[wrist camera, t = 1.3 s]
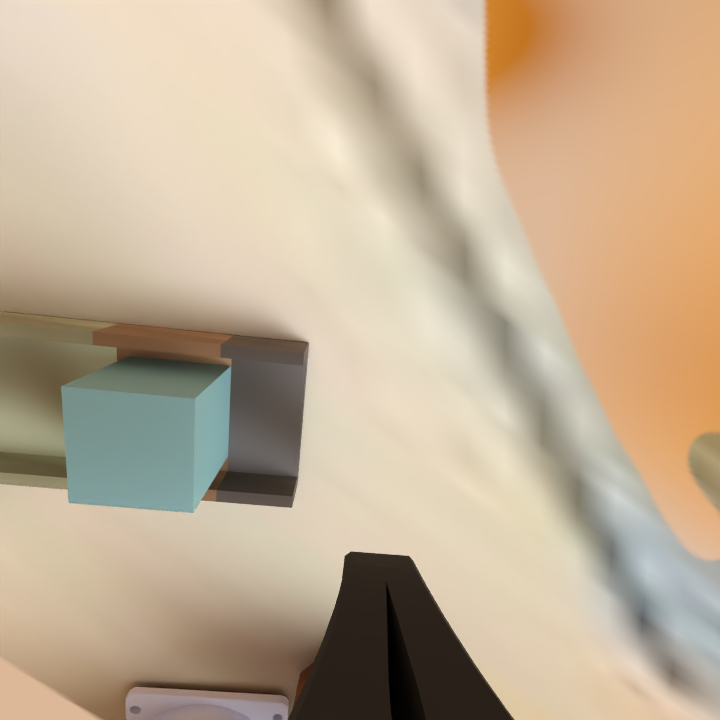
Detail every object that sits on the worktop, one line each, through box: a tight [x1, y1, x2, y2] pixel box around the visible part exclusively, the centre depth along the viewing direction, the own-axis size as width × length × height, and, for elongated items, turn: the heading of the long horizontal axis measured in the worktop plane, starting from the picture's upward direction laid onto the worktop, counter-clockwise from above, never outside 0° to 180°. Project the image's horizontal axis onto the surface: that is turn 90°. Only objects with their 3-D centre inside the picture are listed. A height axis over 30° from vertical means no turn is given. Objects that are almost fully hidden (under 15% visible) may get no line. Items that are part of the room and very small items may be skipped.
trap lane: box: [0, 311, 309, 508], centre depth 16 cm, size 6×16×2 cm, turn 84°
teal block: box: [61, 356, 231, 513], centre depth 15 cm, size 4×4×4 cm
